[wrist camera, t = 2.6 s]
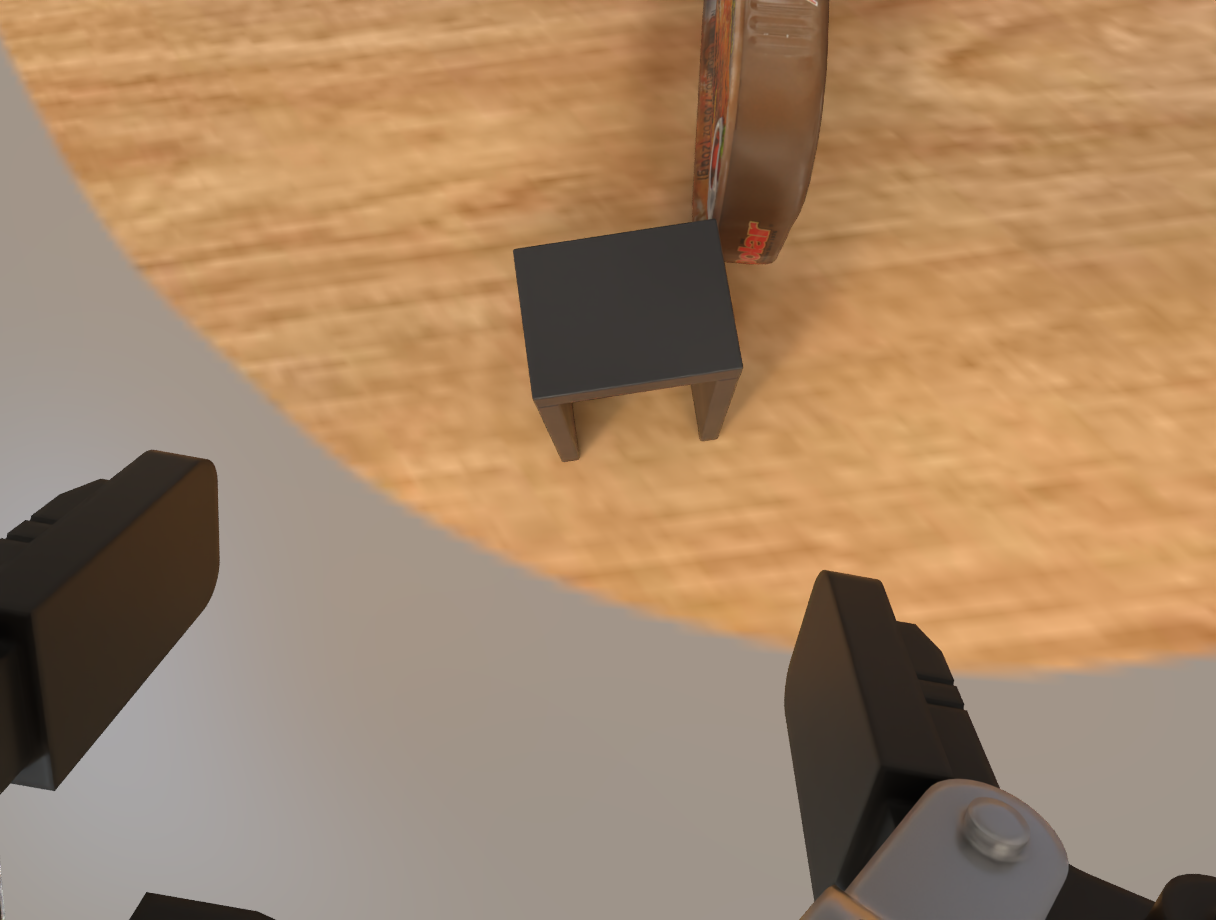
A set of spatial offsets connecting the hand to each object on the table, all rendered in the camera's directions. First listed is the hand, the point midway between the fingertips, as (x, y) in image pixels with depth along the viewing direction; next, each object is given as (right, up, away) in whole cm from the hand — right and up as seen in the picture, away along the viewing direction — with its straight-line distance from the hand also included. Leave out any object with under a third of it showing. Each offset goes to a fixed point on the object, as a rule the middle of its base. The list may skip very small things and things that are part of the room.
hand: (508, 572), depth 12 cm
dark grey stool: (+2, +4, +18) cm, 19 cm away
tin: (+6, +14, +20) cm, 26 cm away
